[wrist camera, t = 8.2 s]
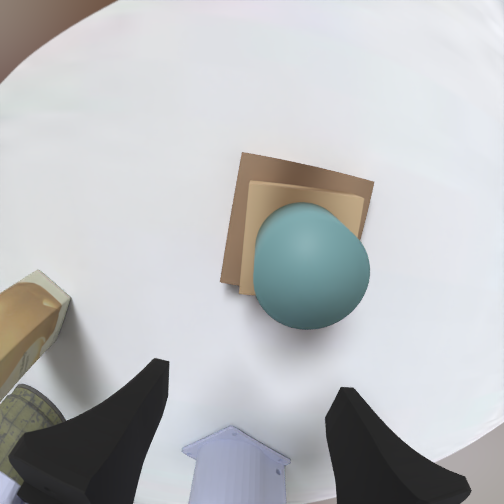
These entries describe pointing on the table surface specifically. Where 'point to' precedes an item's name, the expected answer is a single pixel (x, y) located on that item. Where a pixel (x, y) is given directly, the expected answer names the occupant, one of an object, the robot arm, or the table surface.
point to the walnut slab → (284, 174)
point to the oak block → (277, 195)
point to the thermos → (23, 421)
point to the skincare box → (28, 325)
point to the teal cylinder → (308, 267)
